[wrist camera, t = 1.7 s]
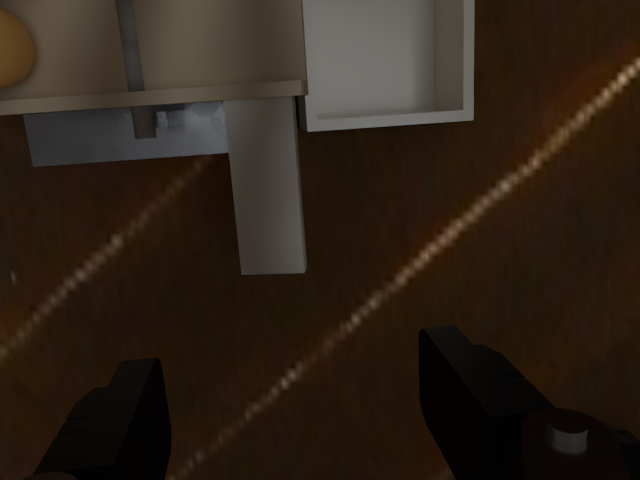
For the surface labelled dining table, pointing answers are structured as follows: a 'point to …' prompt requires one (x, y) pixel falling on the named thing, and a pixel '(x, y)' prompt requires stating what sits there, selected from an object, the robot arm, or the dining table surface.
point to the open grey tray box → (387, 63)
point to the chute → (187, 91)
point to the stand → (125, 134)
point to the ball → (14, 50)
